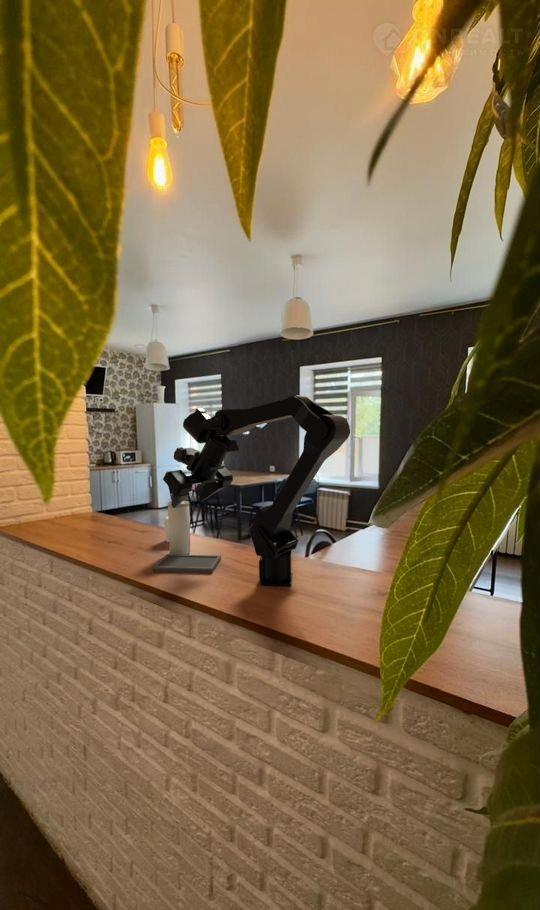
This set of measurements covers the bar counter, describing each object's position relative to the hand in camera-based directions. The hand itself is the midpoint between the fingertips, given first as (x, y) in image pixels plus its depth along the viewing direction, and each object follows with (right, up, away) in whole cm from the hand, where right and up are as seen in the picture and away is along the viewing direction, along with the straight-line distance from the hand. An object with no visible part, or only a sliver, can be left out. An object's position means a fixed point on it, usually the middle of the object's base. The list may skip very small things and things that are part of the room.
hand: (187, 503), depth 102 cm
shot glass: (-7, -13, +16) cm, 22 cm away
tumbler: (-3, -14, +4) cm, 14 cm away
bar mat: (+1, -14, -5) cm, 15 cm away
